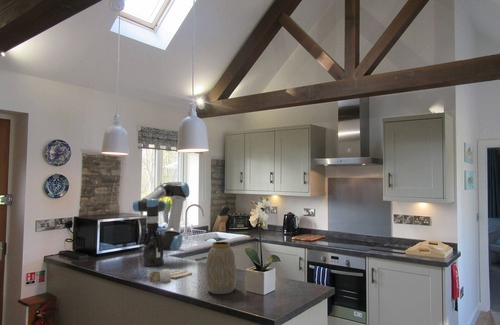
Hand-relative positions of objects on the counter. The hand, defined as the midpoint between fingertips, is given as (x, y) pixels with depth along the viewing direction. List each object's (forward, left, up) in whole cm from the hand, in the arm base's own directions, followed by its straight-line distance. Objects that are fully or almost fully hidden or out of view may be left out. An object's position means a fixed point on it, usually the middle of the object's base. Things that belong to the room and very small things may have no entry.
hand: (152, 256), depth 240 cm
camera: (0, 0, -1) cm, 1 cm away
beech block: (+10, -6, -13) cm, 18 cm away
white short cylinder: (+17, -4, -13) cm, 22 cm away
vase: (+58, +1, -13) cm, 60 cm away
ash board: (+13, +10, -13) cm, 21 cm away
